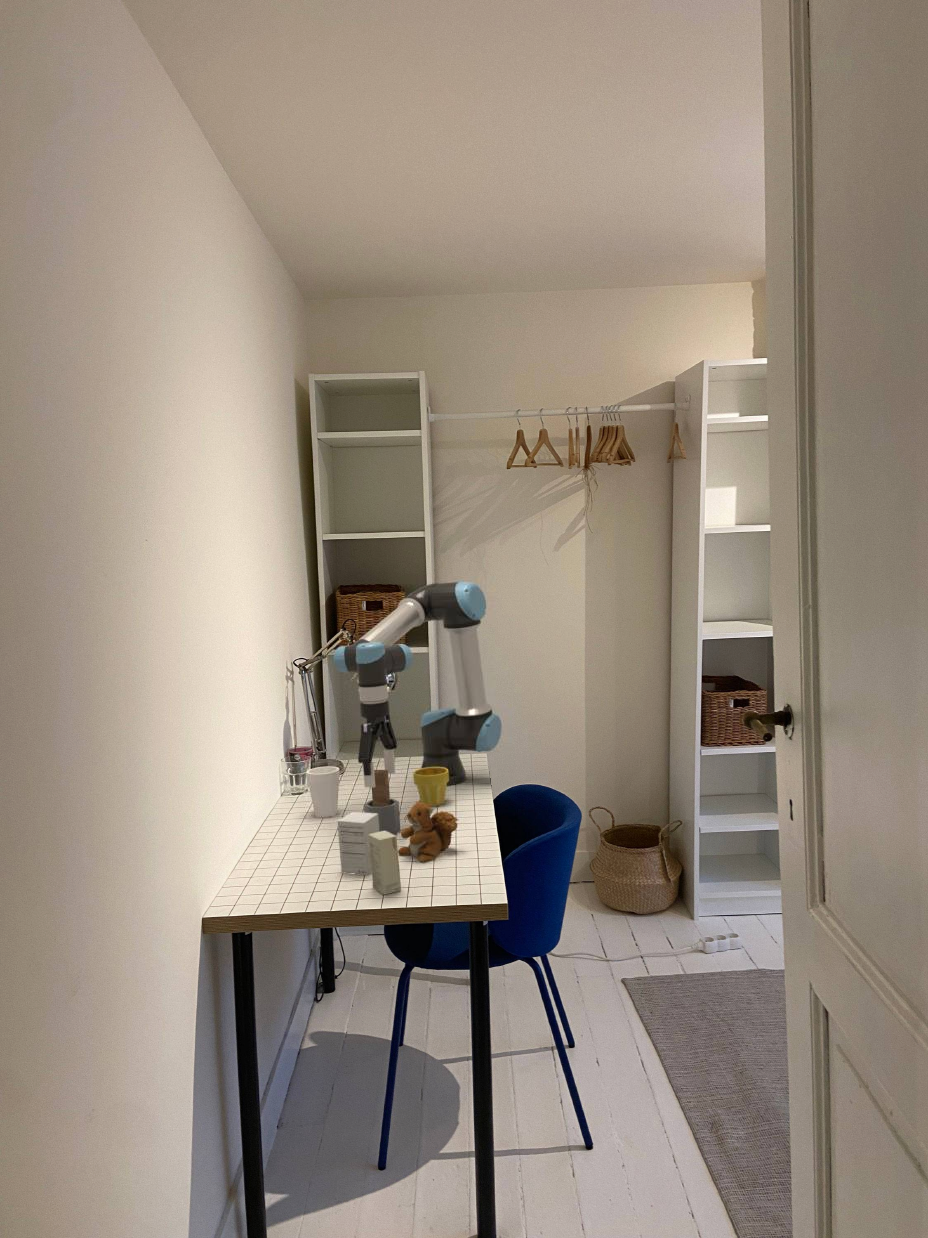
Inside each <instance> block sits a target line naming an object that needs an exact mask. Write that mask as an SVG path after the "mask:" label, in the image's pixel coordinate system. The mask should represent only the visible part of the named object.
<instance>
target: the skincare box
mask: <svg viewBox="0 0 928 1238" xmlns="http://www.w3.org/2000/svg"><path fill="white" fill-rule="evenodd" d="M369 847H370V859H371V870H372V873H371V881H372V888H373V889H374V890H376V891H377V892H379V893H380V894H382V895H389V894H392V893H396V892H399V891H402V886H401V885H402V883H401V875H400V874H401V872H400V861H399V853H398V850H399V848H398V838H397V834H396V835H394V834H392V833H390V832H387V831H381V832H376V833H372V834H369Z"/></svg>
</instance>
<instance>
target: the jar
mask: <svg viewBox="0 0 928 1238" xmlns="http://www.w3.org/2000/svg"><path fill="white" fill-rule="evenodd" d="M363 811H364V812H363V813H377V814H378V820H379V832H381V831H387V832H390V833H392V834H394V835H395V834H396V835H398V834H397V833H398V832H399V833H401V831H402V829H401V828H402V827H401V816H400V814H401V813H400V801H399V800H397V799H395V798H390V805H388V806H383V807H373V801H372V799H371V800H368V801H367V802H365V803H363Z"/></svg>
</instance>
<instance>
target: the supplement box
mask: <svg viewBox="0 0 928 1238" xmlns="http://www.w3.org/2000/svg"><path fill="white" fill-rule="evenodd" d="M336 822H337V831H338V845H339V856H340V859H339V860H340V869H341V873H342V872H346V873H345V874H347V873H355V874H354V875H358V874H361V875H362V876H370V874H372V870H371V859H370V847H369V834H372V833H376V832H379V820H378V814H377V813H364V812H356V811H354V812H349V813H348V814H347V815H345V816H343V817H342V818H340V819H338V820H337V821H336ZM361 875H360V876H361Z"/></svg>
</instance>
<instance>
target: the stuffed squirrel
mask: <svg viewBox="0 0 928 1238" xmlns="http://www.w3.org/2000/svg"><path fill="white" fill-rule="evenodd" d="M434 810H435V807H434V806H428V805H426V804H424V803H422V802H421V800H417V801H416V803H415V804H414V805H412V807H411V809H410V810H409V811H407V813H406V815H405V816H404V818H403V820H404V823H406V821H408V822H409V823H410V824H411V825H410V826H408V827H405V828H403V829H401V831H400V836H401V838H402V839H404V840H407V839H409V844H408V846H402V847H400V848H398V856H413V857H416V858H418V861H419V862H418V863H420V864H421V863H422V864H423V863H428V862H429V861H430V862H431V861H434V860H436V859H437V858H438V856H439V854H440V853H443V852H445V851H446V850H448V849H449V846H450V845H451V843H452V836H453V834H452V833H453V832H454V831H457V828H458V823H457V822H458V821H459V818H457V817H455V815H454V814H452V813H450V812H448V811H442V810H441V811H440V812H436V813H433V812H434ZM432 813H433V814H432ZM431 814H432V816H431Z"/></svg>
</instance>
